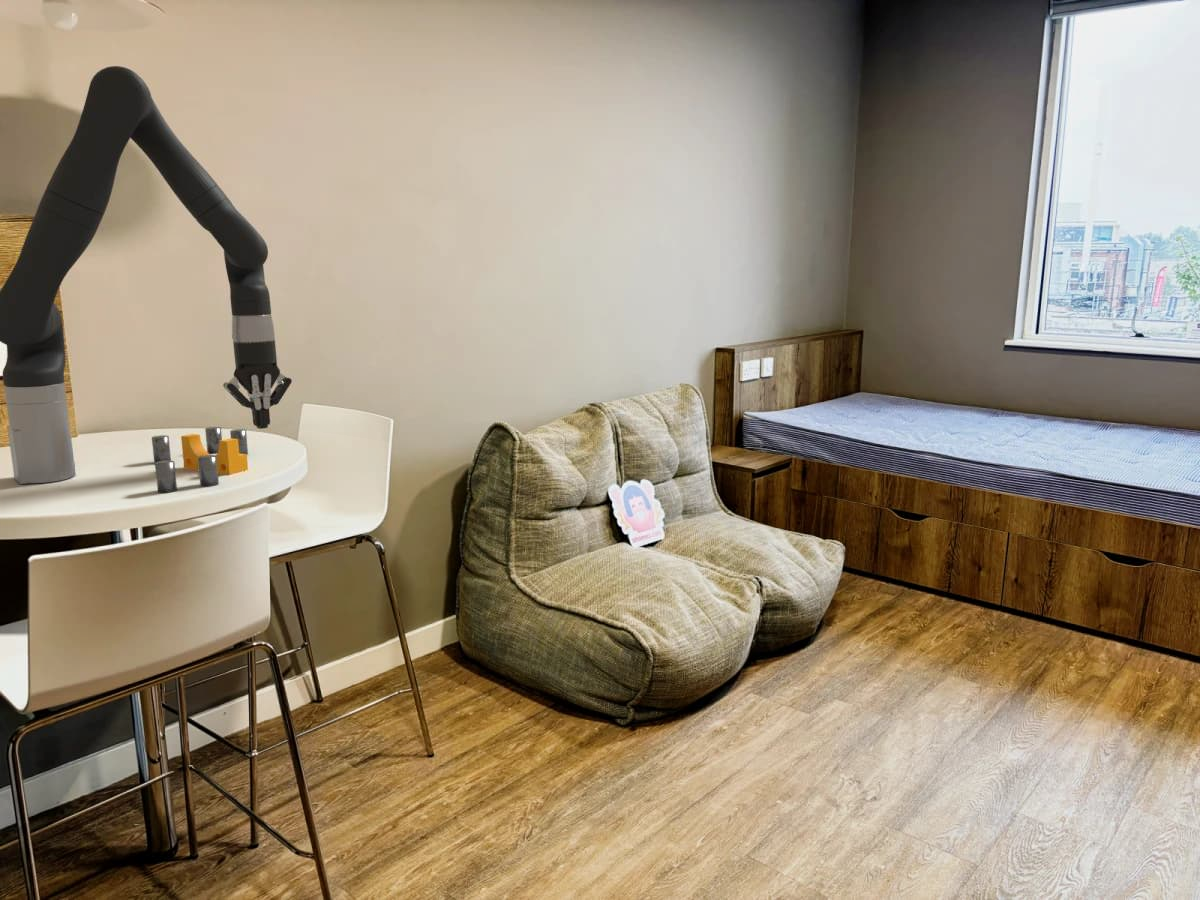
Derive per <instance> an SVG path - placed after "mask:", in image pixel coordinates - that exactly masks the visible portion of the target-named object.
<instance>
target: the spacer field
mask: <svg viewBox="0 0 1200 900" xmlns="http://www.w3.org/2000/svg"><path fill="white" fill-rule="evenodd" d="M204 430H205V441H206V451H207V452H208V453H209V454H210V455H204V456H199V457H198V465H199V471H198V474H199V485H200V486H201V487H215V486H218V485H219V484H220V483H219V473H218V469H217V458H216V455H217V453H218V450H219V441H220V440H223V434H222V433H223V432H222V427H221V426H210V427H206V428H205V429H204ZM229 432H230V438H232V439H238V445H239V454H247V456H248V455H249V449H248V437H247V429H244V428H242V429H241V428H239V429H231V430H230V431H229ZM151 444H152V453H153V456H152V457H153V462H154V467H155V477H156V479H155V480H156V485H157V486H156V487H157V493H160V494H168V493H170V494H171V493H173V492H177V490H178V487H177V486H178V485H177V475H176V465H175V460H172V456H171V447H170V437H169V435H153V436H151ZM214 454H215V455H214Z"/></svg>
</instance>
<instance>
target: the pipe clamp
mask: <svg viewBox="0 0 1200 900" xmlns="http://www.w3.org/2000/svg"><path fill="white" fill-rule="evenodd" d="M180 437H181V438H180V439H181V450H182V459H183V469H184V468H185V470H191V469H192V471H198V470H199V465H198V457H199V456H204V455H211V453H208V452H207V449H206V448H205V447H204V445H203V444H202V440H201V435H200V434H198V433H197V434H195V433H191V434H186V435H181V436H180ZM215 455H216V458H217V469H218V474H219V473H220V474H221V475H227V476H231V475H235V474H238V473H242V471H243V472H246V470H247V471H249V466H248V455H247V454H239V445H238V439H232V438H231V437H230V438H227V439H222V440H220V441H219V450H218V453H216V454H215ZM220 474H219V475H220Z"/></svg>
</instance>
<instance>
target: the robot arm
mask: <svg viewBox="0 0 1200 900" xmlns="http://www.w3.org/2000/svg"><path fill="white" fill-rule="evenodd" d="M85 97H86V98H85V101H84V105H83V108H82V112H81V116H80V118H79V122H78V125H77V127H76V129H75V132H74V135H73V137H72V139H71V141H70V143H69V145H68V146H67V148H66V150H65V151H64V153H63V155H62V157H61V158H60V160H59V161H58V164H57V166H56V167H55V170H54V172H53V173H52V176H51V177H50V179H49V181H48V183H47V185H46V188H45V190H44V192H43V194H42V197H41V199H40V201H39V204H38V206H37V208H36V211H35V214H34V217H33V219H32V222H31V224H30V227H29V229H28V231H27V234H26V237H25V239H24V242H23V244H22V248H21V251H20V253H19V255H18V258H17V261H16V263H15V265H14V266H13V268H12V271H11V272H10V274H9V275H8V277H7V279H6V281H5V283H4V284H3V286H2V287H1V289H0V343H2V344H4V345H6V352H7V353H6V354H7V355H6V357H7V358H6V362H5V364H4V365H5V366H4V368H3V370H2V381H3V382H2V383H3V388H4V389H3V390H4V394H5V395H4V397H5V403H6V411H7V417H8V425H9V426H8V427H7V434H8V441H9V447H10V448H9V450H10V455H11V464H12V469H13V470H12V471H13V478H14V479H15V481H17V483H18V484H19V485H25V484H41V483H43V484H44V483H52V482H58V481H59V482H60V481H63V480H67V479H70V478H73V477H75V476H76V475H77V474H76V463H75V458H74V457H75V456H74V450H73V449H74V448H73V441H72V432H71V423H70V415H69V408H68V399H67V390H66V383H65V367H66V361H67V360H66V359H67V358H66V348H65V347H66V345H65V337H64V335H65V334H64V327H63V319H62V316H61V313H60V310H59V308H58V306H57V305H56V303H55V300H56V298H57V294H58V291H59V289H60V286H61V285H62V283H63V280H64V279H65V278H66V276H67V274H68V273H69V271H70V270H71V268H72V267H73V266H74V265H75V264H76V262H77V261H78V260H79V259H80V258H81V256H82V255H83V254H84V253H85V251H86V249H87V248H88V246H90V244H91V243H92V240H93V238H94V237H95V236H96V234H97V231H98V229H99V226H100V224H101V222H102V220H103V217H104V215H105V212H106V210H107V208H108V205H109V202H110V199H111V195H112V191H113V188H114V183H115V180H116V175H117V170H118V166H119V162H120V159H121V156H122V155H123V153H124V150H125V148H126V147H127V144H128V143H129V141H130V139H131V140H132V141H133V142H134V143H135V144H136V146H138V147H139V148H140V150H141V151H142V152H143V153H144V155H145V156H146V157H147V158H148V159H149V160H150V161H151V162H152V164H153V165H154V166H155V168H156V169H157V171H158V172H159V174H160V175H161V176H162V178H163V179H164V181H165V182H166V184H167V185H168V186H169V188H170V189H171V190H172V192H173V193H174V195H175V196H176V198H177V199H178V200H179V202H181V204H182V205H183V206H184V208H186V210H187V211H188V212H189V213H190V214H191V216H192V217H193V218H194V219H195V221H197V223H198V224H199V225H200V226H201V227H202V228H203V229H204V230H205V231H207V232H209V233H210V234H211V236H212V237H213V238H214V239H215V240H216V242H217V243H218V245H220V246H221V248H222V250H223V256H224V257H223V258H224V263H225V270H226V274H227V280H228V283H229V290H230V291H229V292H230V294H229V295H230V296H229V297H230V298H229V300H230V308H231V315H232V316H231V337H232V343H233V352H234V353H233V354H234V364H235V370H234V372H233V377H232V378H231V379H230V380H229V381H228V382H224V383H223V385H222V386H223V388H224V389H225V390H226V391H227V393H229V394H230V395H231V396H232V397H233V398H234V399H235V400H236V401H237V402H238V403H239V404H240V406H242V407H245V408H248V409H251V414H252V415H251V416H252V423H253V426H255V427H256V428H257V429H258V430H259V429H260V430H261V429H268V426H269V425H271V417H270V416H271V415H270V414H271V413H270V408H271V407H272V406H275V405H279V403H280V402H281V400H282V398H283V397H284V395H285V394H286V392H287V390H288V389H289V387H290V385H291V384H292V381H293V380H292V378H289V377H287V376H285V375H283V374H282V373H281V370H280V368H279V366H278V359H277V349H276V348H277V346H276V336H275V327H274V320H273V316H272V306H271V297H270V291H269V288H268V286H267V283H266V281H265V270H264V269H265V268H264V264H265V263H266V261H267V259H268V256H269V251H268V250H269V249H268V245H267V243H266V241H265V239H264V238H263V236H262V235H261V233H259V232H258V231H257V229H256V228H255V227H254V226H253V225H252V224H251V223H250V222H249V221H248V220H247V219H246V218H245V216H243V214H242V213H241V212H239V211H238V210H237V209H236V207H235V206H234V205H233V203H232V201H231V200H230V198H229V197H228V196H227V195H226V193H225V192H224V191H223V189H222V188H221V187H220V186H219V185H218V183H217V182H216V181H215V180H214V178H213V177H212V176H211V174H209V172H208V171H207V170H206V169H205V168H204V167H203V165H201V163H200V162H199V161H198V160H197V159H196V158H195V157H194V155H192V153H191V152H190V151H189V150H188V149H187V147H186V146H185V145H183V143H182V142H181V141H180V139H179V138H178V137H177V136H176V134H175V133H174V131H173V130H172V129H171V127H170V126H169V124H168V123H167V122H166V120H165V118H164V116H163V115H162V113H161V111H160V110H159V108H158V106H157V104H156V103H155V101H154V99H153V97H152V94H151V91H150V89H149V87H148V85H147V84H146V82H145V81H144V80H143V78H142V77H141V76H139V75H138V73H136V72H135V71H134V70H131V69H130V68H127V67H124V66H120V65H119V66H117V65H113V66H112V65H111V66H108V67H104V68H102V69H100V70H99V71H97V72H96V73H95V75H93V77H92V79H91V80H90V83H89V86H88V91H87V94H86V96H85ZM275 383H276V386H275V388H274V390H273V391H271V390H272V388H273V387H274V385H275ZM240 386H241V387H242V388H243V389H244V390H245V391H247V392H246V393H247V397H248V398H249V399H248V398H247V397H246V396H245V395H244V394H243V393H242V392H241V390H240ZM271 392H272V393H271Z"/></svg>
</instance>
